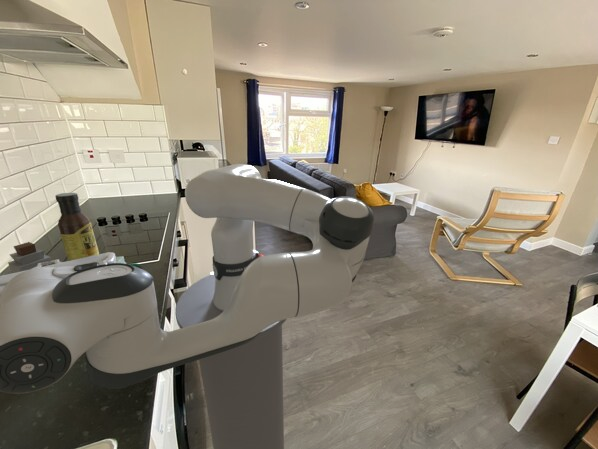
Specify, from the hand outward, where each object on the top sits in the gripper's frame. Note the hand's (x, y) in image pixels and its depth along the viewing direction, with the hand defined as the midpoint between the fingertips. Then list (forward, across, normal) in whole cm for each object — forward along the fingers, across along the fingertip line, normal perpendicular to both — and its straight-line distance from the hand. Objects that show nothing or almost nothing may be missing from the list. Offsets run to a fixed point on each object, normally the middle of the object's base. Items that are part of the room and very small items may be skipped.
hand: (49, 264), depth 49 cm
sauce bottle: (+19, +4, -10) cm, 22 cm away
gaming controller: (+36, +15, -24) cm, 46 cm away
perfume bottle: (+36, -8, -24) cm, 44 cm away
